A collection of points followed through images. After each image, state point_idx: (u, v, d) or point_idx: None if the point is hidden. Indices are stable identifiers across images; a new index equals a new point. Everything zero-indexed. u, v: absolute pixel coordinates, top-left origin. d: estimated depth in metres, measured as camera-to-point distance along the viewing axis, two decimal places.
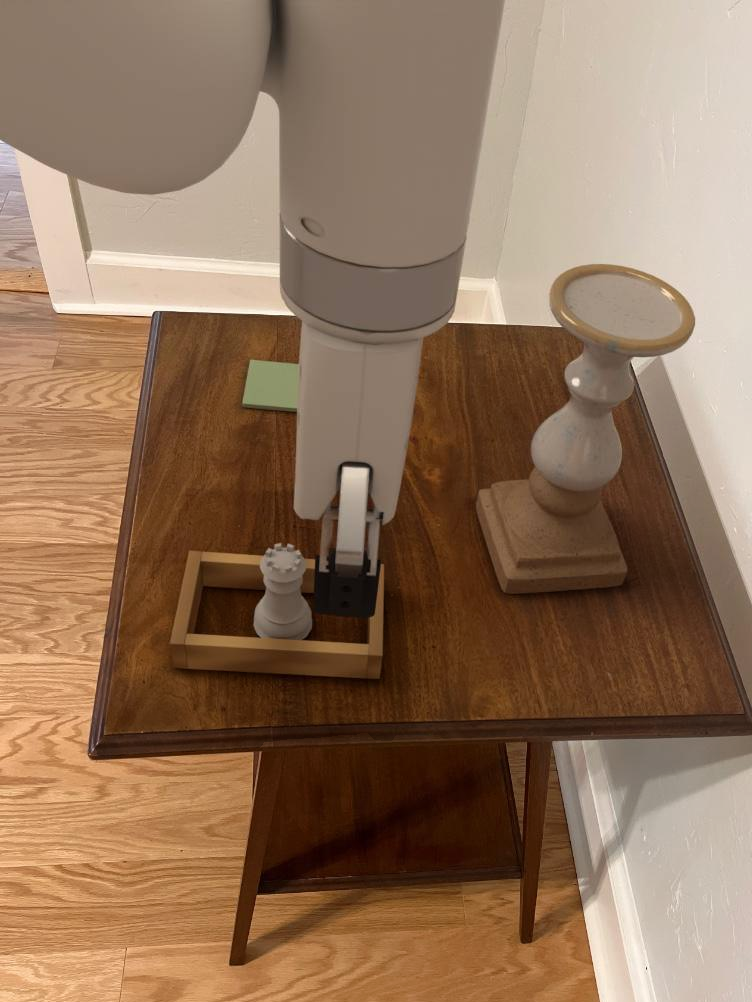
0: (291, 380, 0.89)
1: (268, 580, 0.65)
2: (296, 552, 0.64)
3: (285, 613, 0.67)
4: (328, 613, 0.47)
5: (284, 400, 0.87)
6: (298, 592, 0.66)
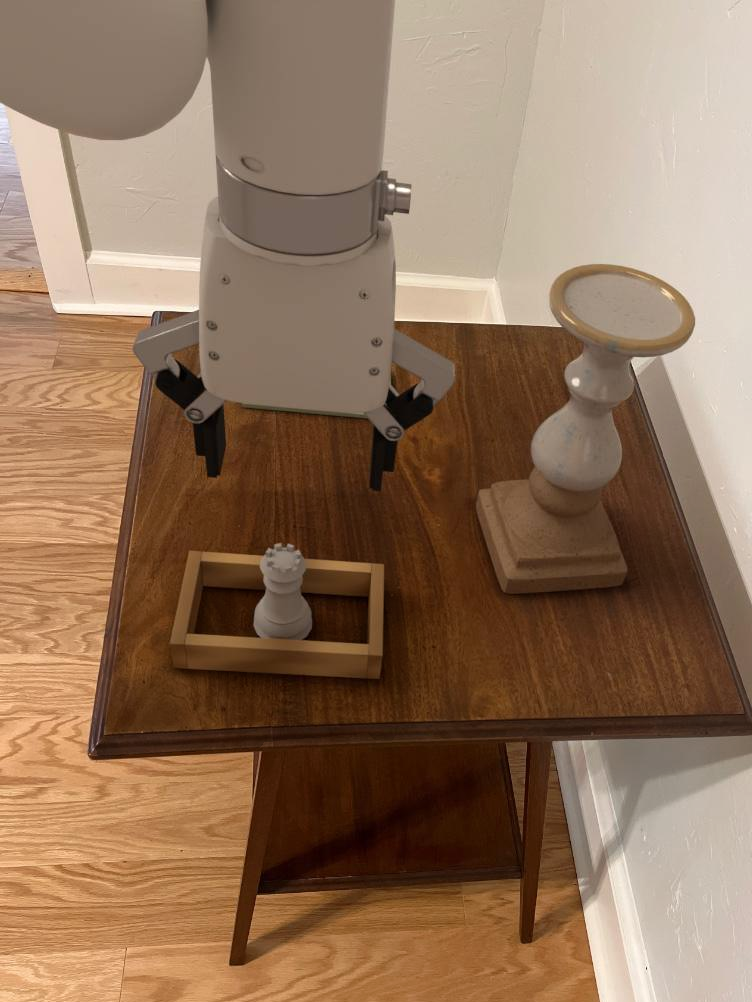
0: None
1: (268, 580, 0.65)
2: (296, 552, 0.64)
3: (285, 613, 0.67)
4: None
5: None
6: (298, 592, 0.66)
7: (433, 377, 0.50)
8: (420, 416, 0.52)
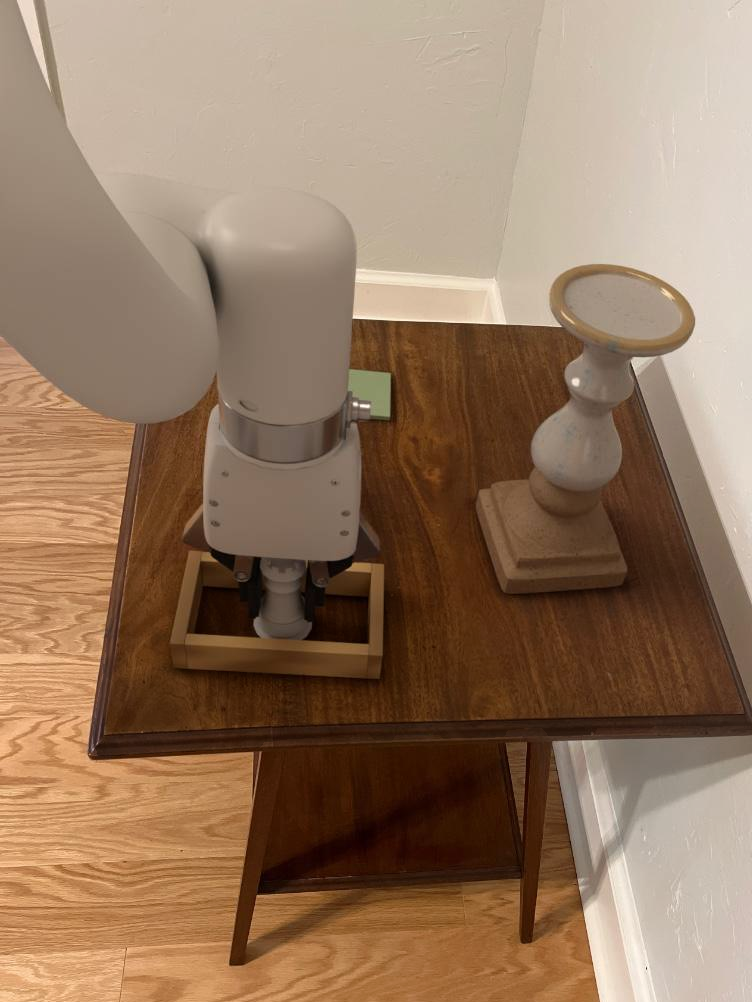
0: None
1: (268, 580, 0.65)
2: None
3: (285, 613, 0.67)
4: None
5: None
6: (298, 592, 0.66)
7: (365, 547, 0.63)
8: (342, 568, 0.64)
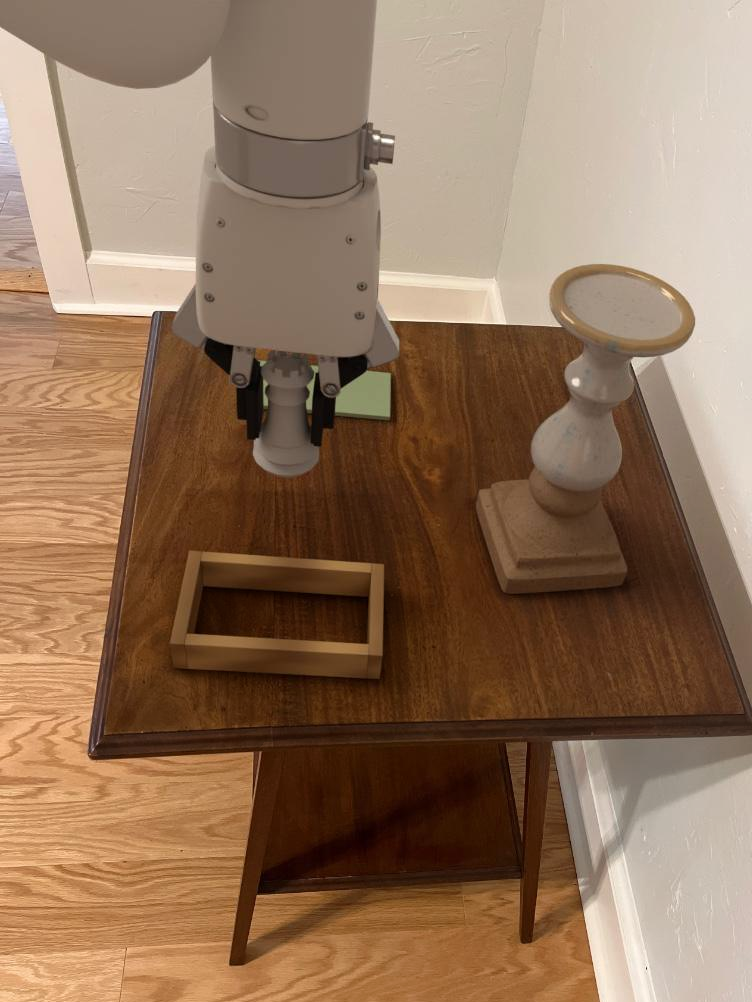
0: None
1: (270, 390, 0.57)
2: (302, 357, 0.56)
3: (289, 434, 0.58)
4: None
5: None
6: (304, 409, 0.58)
7: (382, 346, 0.54)
8: (355, 374, 0.56)
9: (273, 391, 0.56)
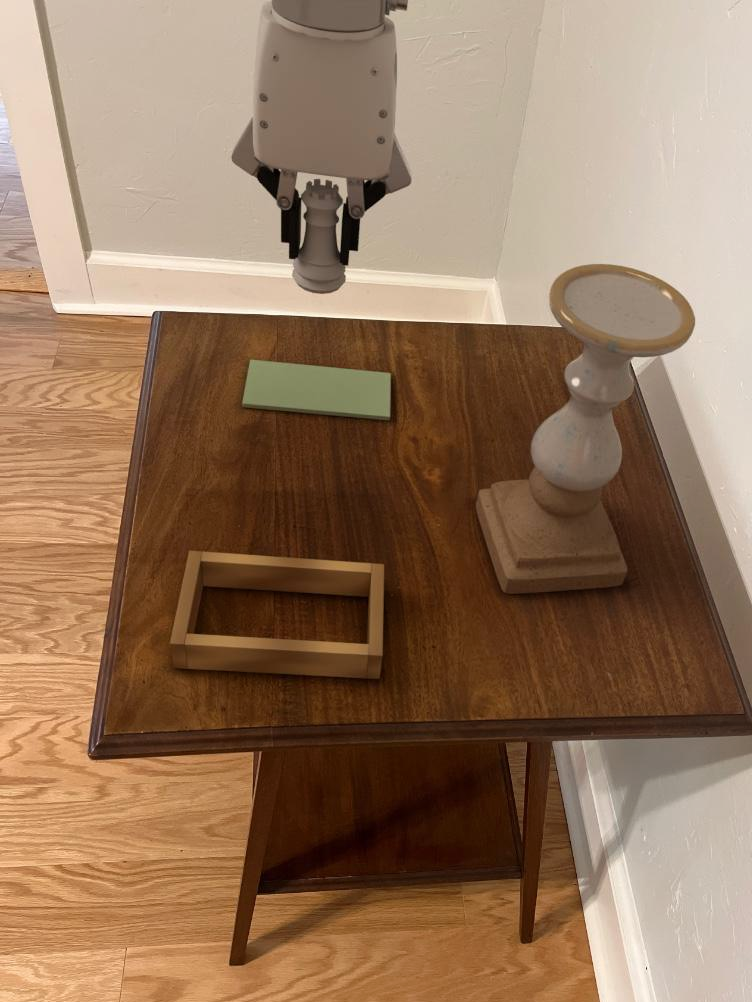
0: (291, 380, 0.89)
1: (308, 214, 0.71)
2: (334, 186, 0.70)
3: (323, 253, 0.72)
4: None
5: (284, 400, 0.87)
6: (334, 233, 0.72)
7: (398, 173, 0.68)
8: (376, 199, 0.70)
9: (310, 214, 0.70)
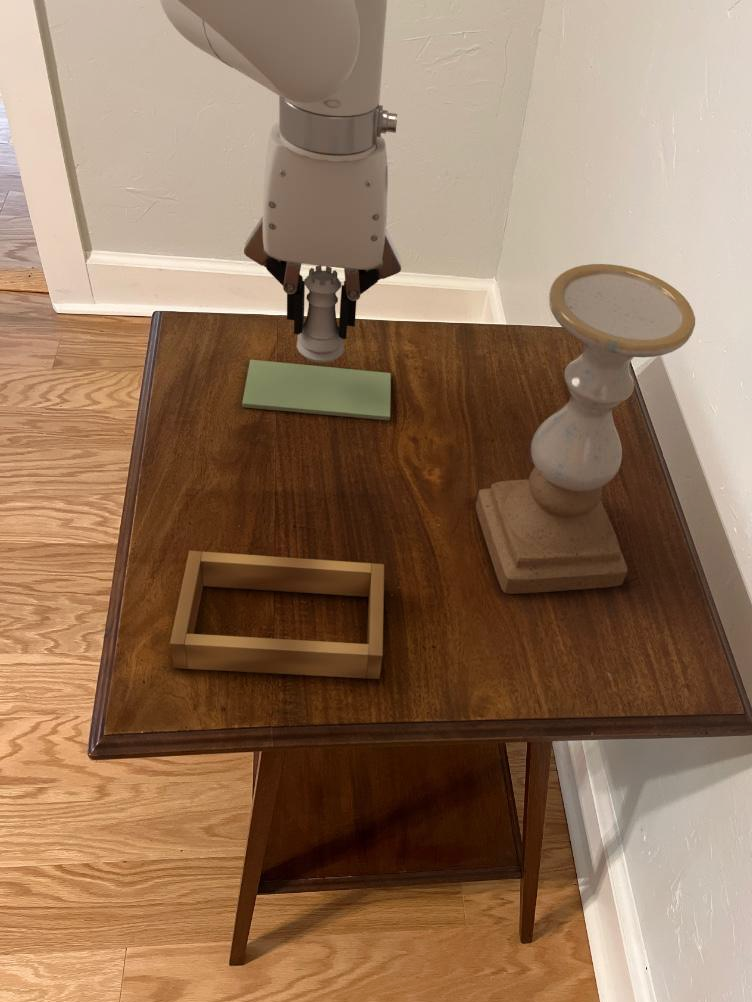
0: (291, 380, 0.89)
1: (310, 296, 0.80)
2: (333, 272, 0.80)
3: (324, 329, 0.82)
4: None
5: (284, 400, 0.87)
6: (334, 311, 0.82)
7: (389, 262, 0.78)
8: (370, 283, 0.80)
9: (313, 296, 0.80)
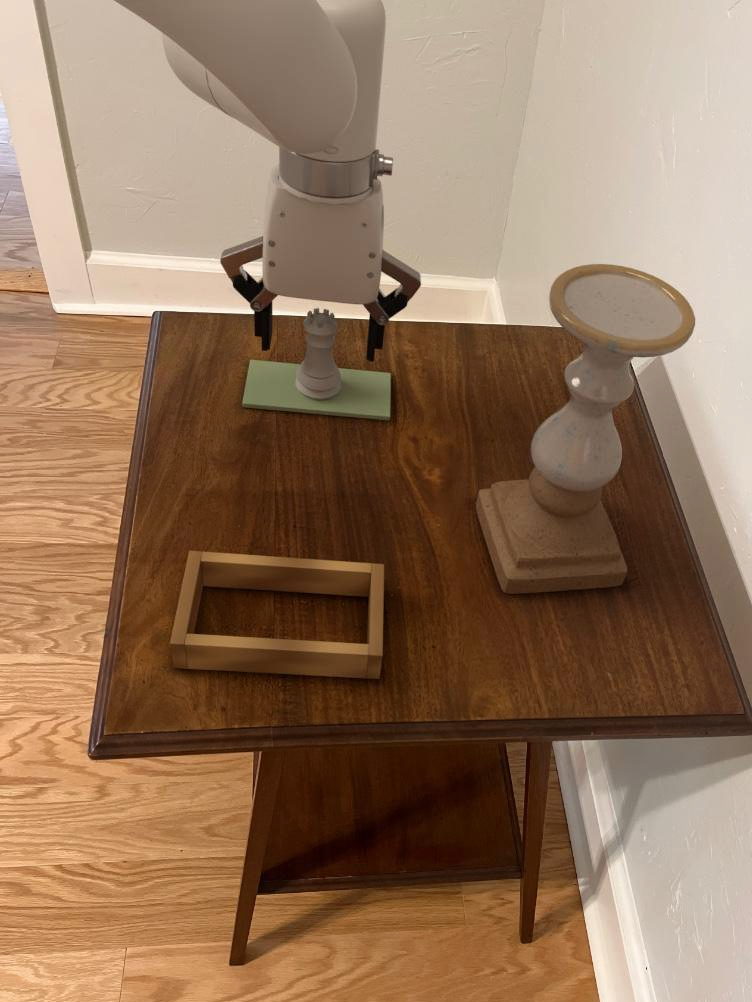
0: (291, 380, 0.89)
1: (309, 337, 0.84)
2: (330, 314, 0.83)
3: (321, 368, 0.85)
4: None
5: (284, 400, 0.87)
6: (331, 351, 0.85)
7: (407, 281, 0.80)
8: (399, 308, 0.81)
9: (311, 338, 0.83)
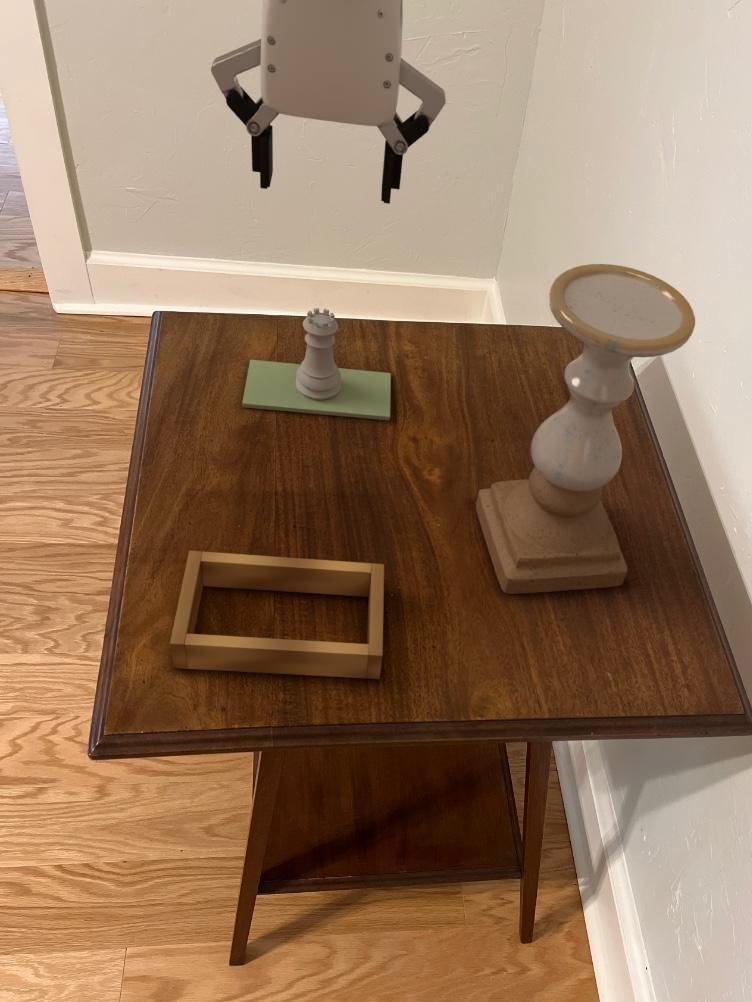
0: (291, 380, 0.89)
1: (309, 337, 0.84)
2: (330, 314, 0.83)
3: (321, 368, 0.85)
4: None
5: (284, 400, 0.87)
6: (331, 351, 0.85)
7: (429, 98, 0.68)
8: (420, 134, 0.70)
9: (311, 338, 0.83)
